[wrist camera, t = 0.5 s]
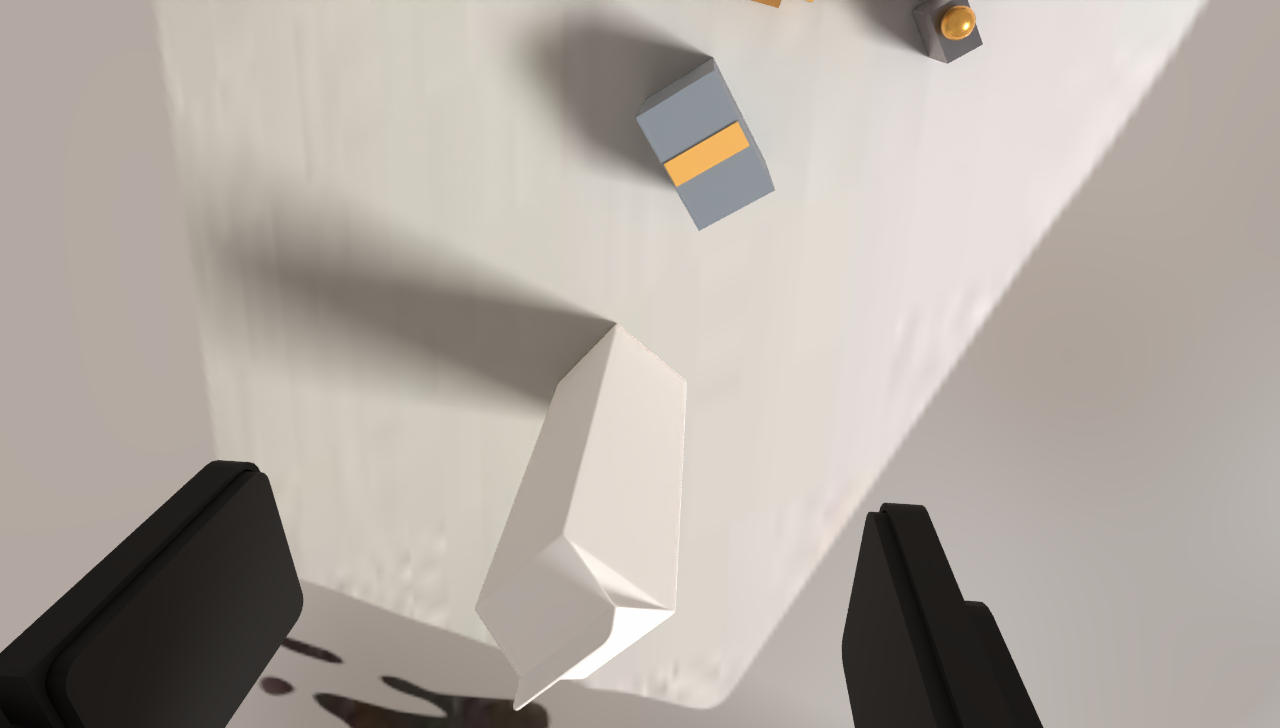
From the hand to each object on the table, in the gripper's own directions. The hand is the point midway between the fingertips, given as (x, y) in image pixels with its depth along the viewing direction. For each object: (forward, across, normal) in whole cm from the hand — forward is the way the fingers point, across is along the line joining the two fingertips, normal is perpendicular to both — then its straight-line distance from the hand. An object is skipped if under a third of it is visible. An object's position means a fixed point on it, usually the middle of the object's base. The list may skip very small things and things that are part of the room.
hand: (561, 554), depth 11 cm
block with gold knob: (+31, -13, -7) cm, 34 cm away
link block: (+31, -2, -2) cm, 31 cm away
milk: (+31, +3, +14) cm, 34 cm away
